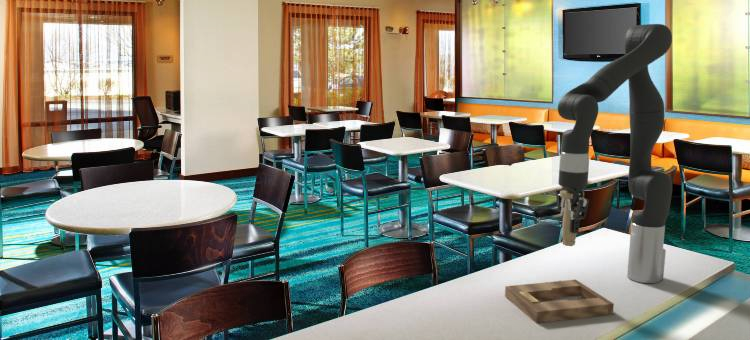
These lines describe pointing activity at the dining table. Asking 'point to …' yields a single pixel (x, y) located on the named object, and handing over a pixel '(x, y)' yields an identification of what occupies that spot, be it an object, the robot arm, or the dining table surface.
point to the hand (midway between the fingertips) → (569, 230)
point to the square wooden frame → (558, 301)
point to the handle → (567, 220)
